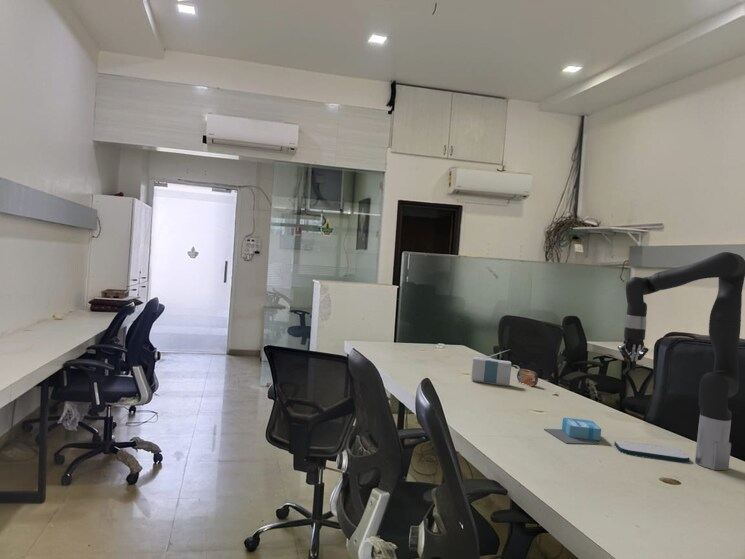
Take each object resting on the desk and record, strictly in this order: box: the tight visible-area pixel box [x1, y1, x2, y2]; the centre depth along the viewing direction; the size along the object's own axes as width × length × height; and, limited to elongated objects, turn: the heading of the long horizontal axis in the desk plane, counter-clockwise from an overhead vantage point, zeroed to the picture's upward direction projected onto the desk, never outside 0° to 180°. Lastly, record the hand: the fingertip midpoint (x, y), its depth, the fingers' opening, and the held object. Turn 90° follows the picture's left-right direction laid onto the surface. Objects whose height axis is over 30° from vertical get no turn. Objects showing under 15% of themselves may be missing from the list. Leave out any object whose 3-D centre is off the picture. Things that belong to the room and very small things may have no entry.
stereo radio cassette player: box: [470, 349, 512, 387], centre depth 292 cm, size 21×8×20 cm, turn 73°
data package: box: [561, 417, 602, 441], centre depth 206 cm, size 12×4×12 cm
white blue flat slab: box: [614, 440, 690, 463], centre depth 191 cm, size 24×12×2 cm, turn 79°
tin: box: [516, 368, 539, 387], centre depth 298 cm, size 15×3×8 cm, turn 25°
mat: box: [543, 428, 600, 445], centre depth 203 cm, size 16×14×1 cm
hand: (631, 370), depth 208 cm, fingers closed
